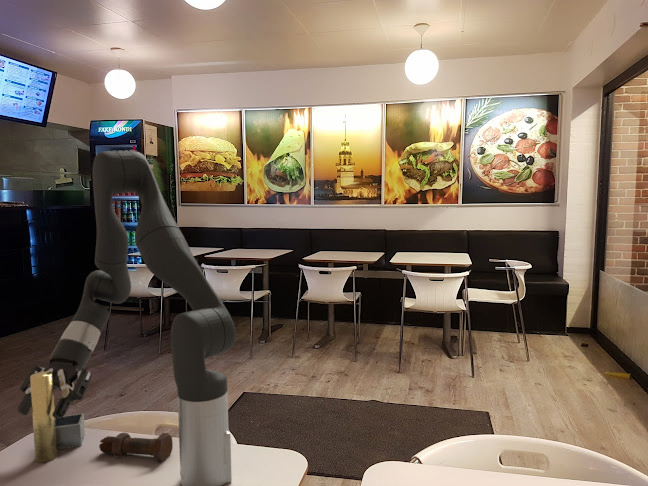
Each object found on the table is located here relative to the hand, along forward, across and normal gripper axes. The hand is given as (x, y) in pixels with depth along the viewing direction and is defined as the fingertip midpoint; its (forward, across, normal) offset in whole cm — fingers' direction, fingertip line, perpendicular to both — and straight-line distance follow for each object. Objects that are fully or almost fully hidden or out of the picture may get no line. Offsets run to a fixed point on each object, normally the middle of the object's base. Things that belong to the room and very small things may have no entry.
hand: (38, 415), depth 100 cm
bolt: (+3, +18, +12) cm, 21 cm away
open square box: (+1, 0, +13) cm, 13 cm away
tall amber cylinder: (+6, 0, +8) cm, 10 cm away
